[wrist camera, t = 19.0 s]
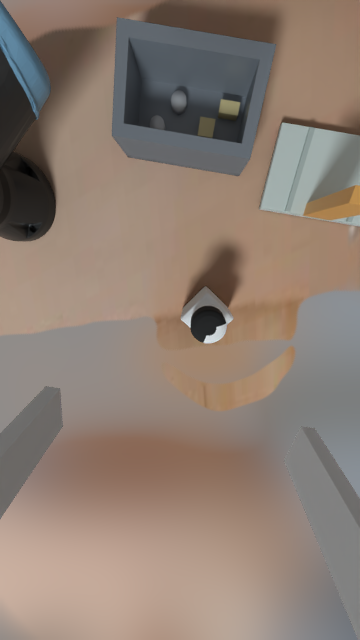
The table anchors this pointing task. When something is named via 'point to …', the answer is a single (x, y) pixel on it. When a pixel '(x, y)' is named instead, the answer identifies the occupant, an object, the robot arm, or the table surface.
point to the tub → (188, 95)
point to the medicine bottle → (206, 316)
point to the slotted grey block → (314, 175)
